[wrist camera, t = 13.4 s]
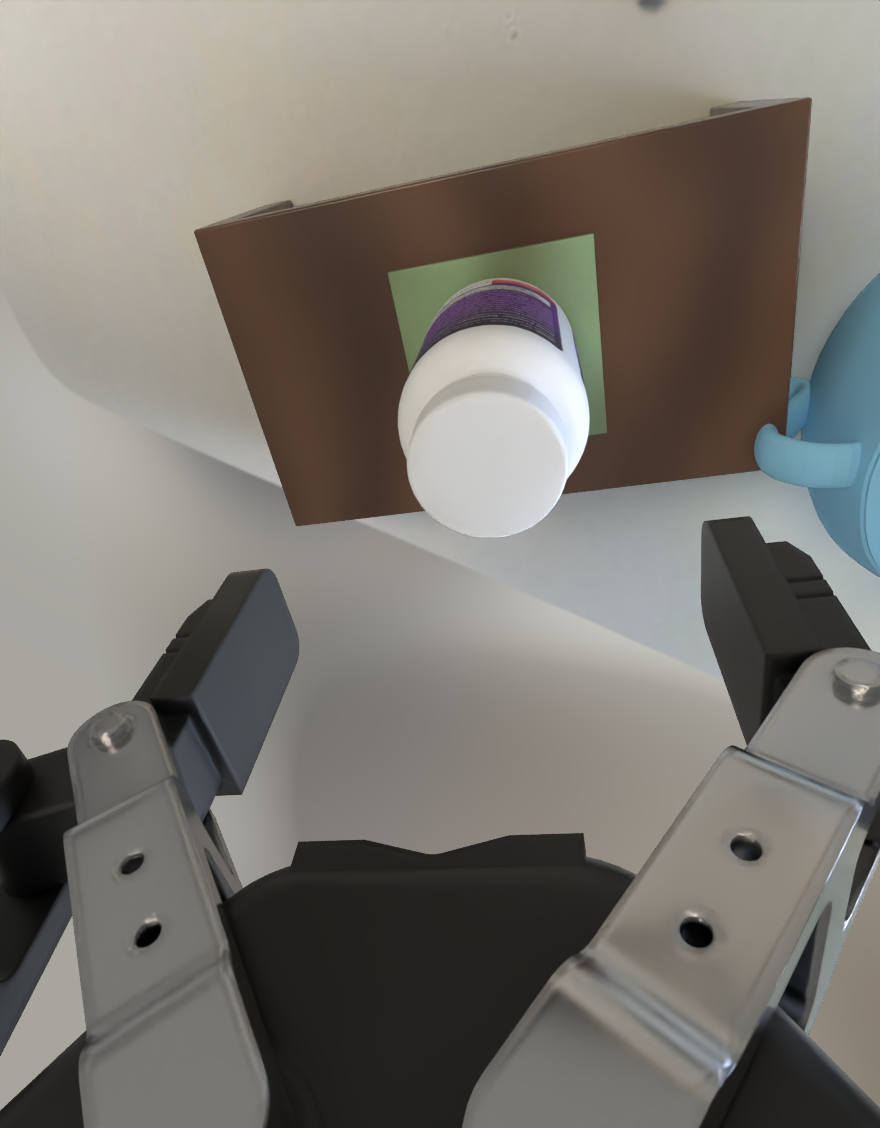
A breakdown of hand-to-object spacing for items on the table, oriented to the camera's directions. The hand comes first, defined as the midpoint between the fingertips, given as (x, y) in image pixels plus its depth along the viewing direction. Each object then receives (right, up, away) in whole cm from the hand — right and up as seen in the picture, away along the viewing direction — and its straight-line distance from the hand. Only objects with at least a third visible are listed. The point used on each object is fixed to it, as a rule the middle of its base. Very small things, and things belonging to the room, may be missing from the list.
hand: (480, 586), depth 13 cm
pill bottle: (+1, +8, +12) cm, 15 cm away
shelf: (+2, +12, +19) cm, 23 cm away
